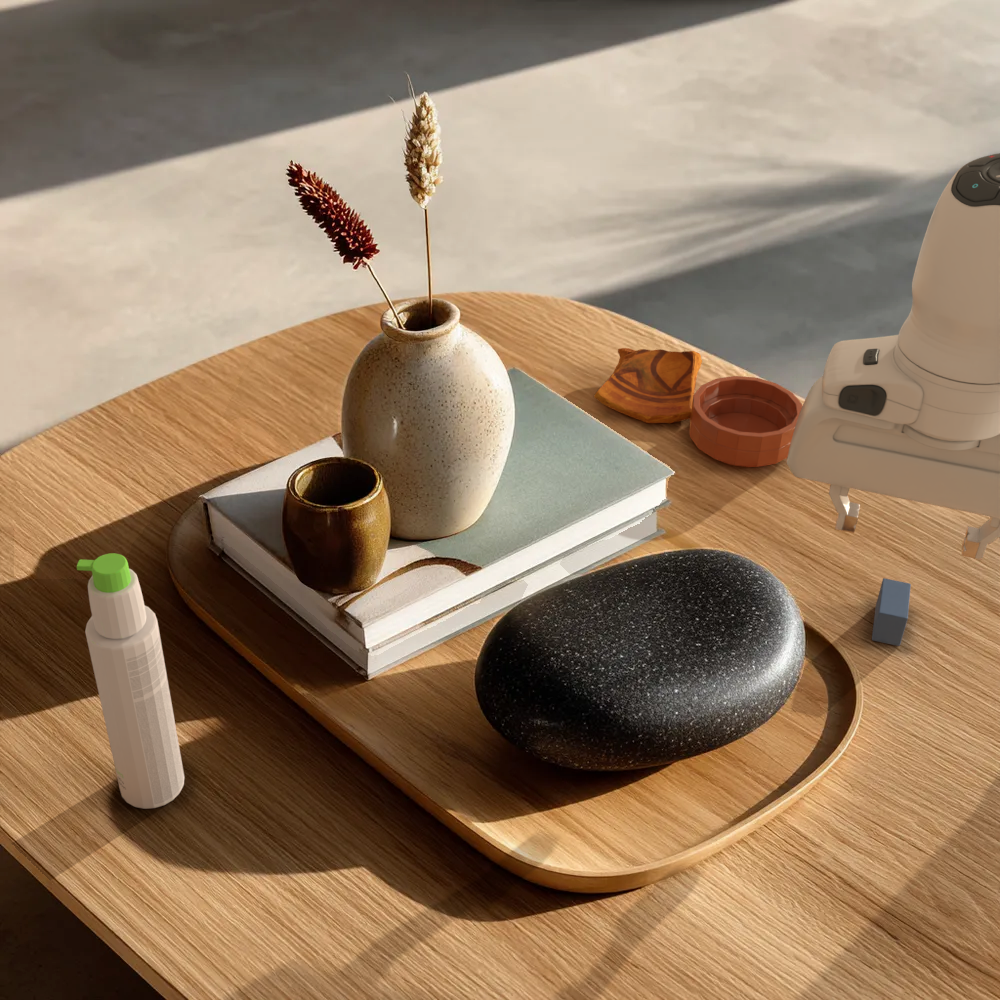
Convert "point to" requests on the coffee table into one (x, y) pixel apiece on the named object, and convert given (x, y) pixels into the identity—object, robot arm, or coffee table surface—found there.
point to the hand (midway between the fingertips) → (907, 540)
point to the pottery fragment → (652, 385)
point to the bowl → (744, 420)
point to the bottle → (132, 684)
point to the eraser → (891, 612)
